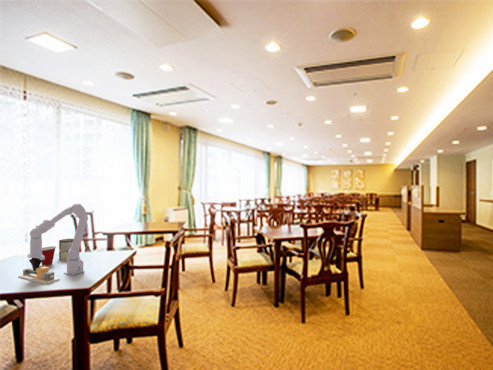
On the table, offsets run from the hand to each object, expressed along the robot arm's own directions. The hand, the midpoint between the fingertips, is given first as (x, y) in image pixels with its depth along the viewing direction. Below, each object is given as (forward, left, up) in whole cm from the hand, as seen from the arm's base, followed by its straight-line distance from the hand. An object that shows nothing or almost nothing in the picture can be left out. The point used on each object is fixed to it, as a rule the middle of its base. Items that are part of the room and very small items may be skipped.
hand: (35, 270), depth 166 cm
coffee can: (+30, -36, -5) cm, 47 cm away
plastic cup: (+25, -19, -5) cm, 32 cm away
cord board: (-3, 0, -4) cm, 5 cm away
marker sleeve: (-7, 0, -3) cm, 8 cm away
